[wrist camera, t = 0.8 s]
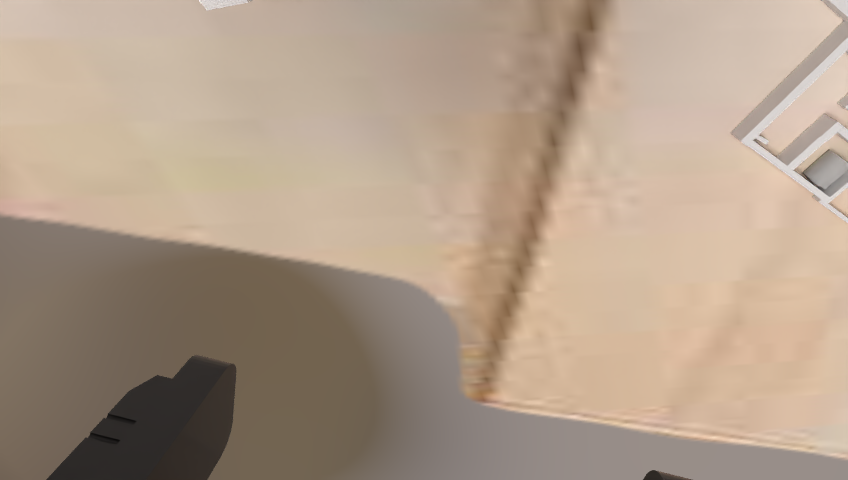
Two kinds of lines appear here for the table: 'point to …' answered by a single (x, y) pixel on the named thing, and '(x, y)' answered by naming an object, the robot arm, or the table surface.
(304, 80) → the table surface
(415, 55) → the table surface
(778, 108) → the floor plan model
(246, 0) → the white wedge bracket
